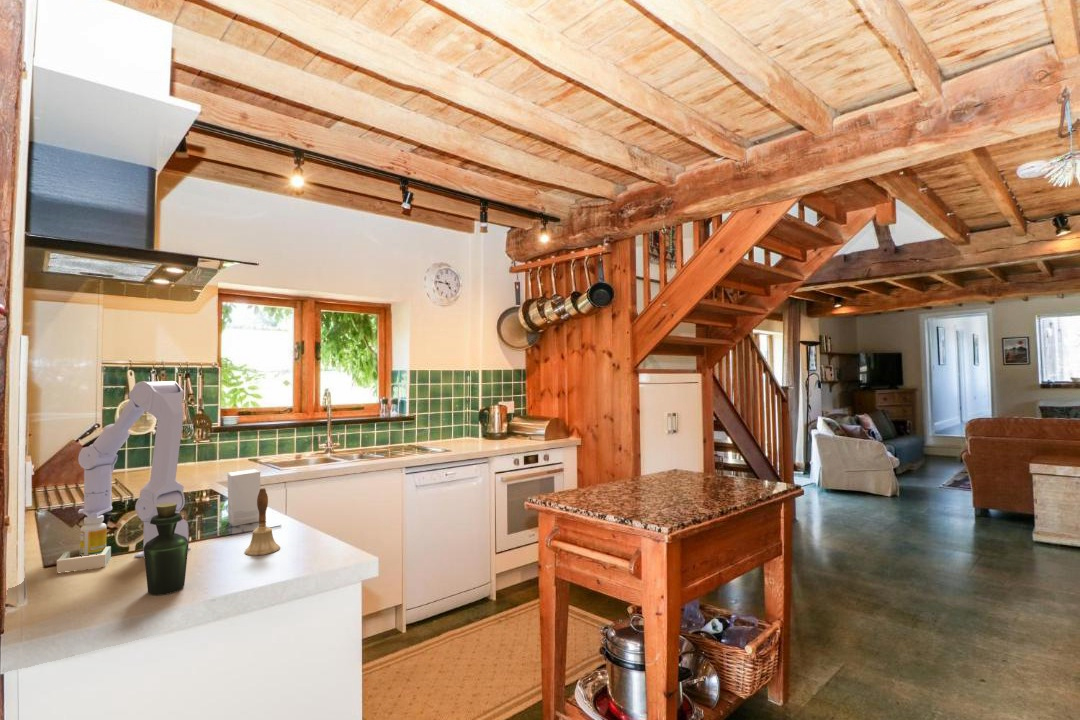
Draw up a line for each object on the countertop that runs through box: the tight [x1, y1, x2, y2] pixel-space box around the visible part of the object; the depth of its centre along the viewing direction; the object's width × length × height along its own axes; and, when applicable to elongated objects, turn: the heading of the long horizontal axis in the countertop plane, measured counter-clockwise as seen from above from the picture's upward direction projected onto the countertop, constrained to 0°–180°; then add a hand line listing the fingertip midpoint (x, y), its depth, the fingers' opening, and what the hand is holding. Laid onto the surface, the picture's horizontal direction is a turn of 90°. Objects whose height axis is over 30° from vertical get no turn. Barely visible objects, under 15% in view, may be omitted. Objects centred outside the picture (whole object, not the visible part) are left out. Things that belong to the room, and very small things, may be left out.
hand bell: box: [244, 487, 281, 556], centre depth 148 cm, size 8×8×16 cm
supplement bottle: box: [79, 515, 108, 556], centre depth 145 cm, size 5×5×10 cm
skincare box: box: [227, 468, 261, 527], centre depth 176 cm, size 8×7×16 cm
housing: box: [56, 545, 112, 573], centre depth 137 cm, size 8×9×3 cm
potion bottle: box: [143, 503, 190, 596], centre depth 121 cm, size 8×8×18 cm
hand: (97, 543), depth 150 cm, fingers closed
